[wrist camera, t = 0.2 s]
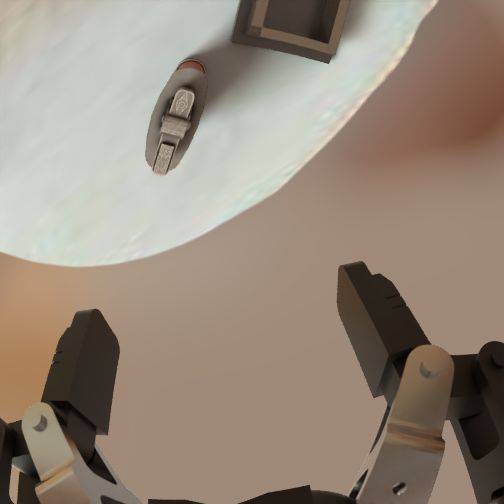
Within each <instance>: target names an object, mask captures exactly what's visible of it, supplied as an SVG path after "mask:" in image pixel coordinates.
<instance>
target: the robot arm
mask: <svg viewBox="0 0 504 504" xmlns="http://www.w3.org/2000/svg"><path fill="white" fill-rule="evenodd" d="M337 306H338V312H339V316H340V317H341V320H342V323H343V325H344V327H345V330H346V332H347V334H348V337H349V339H350V342H351V344H352V346H353V349H354V351H355V354H356V356H357V358H358V361H359V363H360V366H361V368H362V371H363V373H364V376H365V378H366V380H367V383H368V386H369V388H370V391H371V393H372V396H373V398H376V397H378V396H381V395H384V396H385V399H386V401H387V406H386V408H385V411H384V414H383V417H382V419H381V422H380V425H379V428H378V430H377V433H376V436H375V438H374V441H373V443H372V446H371V448H370V450H369V453H368V455H367V457H366V459H365V461H364V463H363V465H362V467H361V469H360V471H359V473H358V475H357V477H356V480H355V482H354V484H353V486H352V488H351V490H350V492H349V494H348V496H345V495H342V494H339V493H334V492H329V491H320V490H311V489H310V485H307V486H302V487H298V488H292V489H287V490H281V491H275V492H269V493H266V494H263V495H261V496H258V497H255V498H253V499H250V500H247V501H244V502H242V503H239V504H428V501H429V498H430V496H431V493H432V490H433V487H434V484H435V481H436V478H437V475H438V471H439V468H440V465H441V462H442V458H443V454H444V450H445V441H444V440H443V439H442V431H443V427H444V422H445V420H450V422H451V424H452V427H453V429H454V432H455V435H456V438H457V440H458V443H459V446H460V449H461V452H462V454H463V457H464V460H465V463H466V466H467V469H468V473H469V476H470V479H471V482H472V485H473V489H474V492H475V496H476V500H477V503H478V504H504V343H502V342H498V341H492V342H488V343H486V344H485V345H484V346H483V347H482V348H481V350H480V351H479V353H478V354H469V355H449V353H448V352H447V351H445V350H444V349H442V348H441V347H438V346H435V345H432V344H431V343H430V342H429V341H428V339H427V337H426V335H425V334H424V332H423V331H422V329H421V327H420V325H419V324H418V322H417V320H416V319H415V317H414V316H413V314H412V312H411V311H410V309H409V308H408V306H406V303H405V301H404V300H403V298H402V297H400V293H399V292H398V290H397V289H396V287H395V286H394V284H393V283H392V282H391V281H390V280H388V279H387V278H385V277H384V276H383V275H381V274H375V275H372V274H371V273H370V271H369V270H368V268H367V266H366V265H365V263H364V262H362V261H359V262H355V263H350V264H345V265H341V266H339V269H338V288H337ZM55 352H56V354H55V355H54V357H53V361H52V362H53V364H52V365H51V368H50V370H49V374H48V377H47V381H46V384H45V389H44V392H43V395H42V399H41V402H40V403H36V404H34V405H32V406H31V407H30V408H28V410H27V411H26V412H25V414H24V416H23V419H22V420H19V421H16V422H13V423H9V424H7V423H6V422H5V421H3V420H2V419H1V418H0V504H14V503H13V502H12V501H11V499H10V496H9V485H10V476H11V467H14V468H16V469H18V470H19V471H20V473H19V484H18V499H17V504H143V503H142V502H141V501H140V500H139V499H138V498H137V497H136V496H135V495H134V494H133V493H132V492H131V491H129V490H128V489H127V488H126V487H125V486H124V484H123V483H122V482H121V480H120V479H119V477H118V476H117V474H116V473H115V471H114V470H113V468H112V467H111V465H110V464H109V462H108V460H107V459H106V458H105V456H104V454H103V452H102V451H101V449H100V448H99V446H98V445H97V444H96V443H95V436H96V435H108V429H109V421H110V413H111V405H112V398H113V391H114V384H115V378H116V372H117V366H118V360H119V354H120V349H119V344H118V340H117V338H116V336H115V334H114V333H113V331H112V330H111V328H110V327H109V325H108V323H107V322H106V320H105V319H104V317H103V315H102V314H101V312H100V311H99V310H98V309H90V310H84V311H78V312H76V314H75V316H74V318H73V322H72V324H71V327H69V328H67V330H66V331H65V332H64V334H63V335H62V336H61V338H60V339H59V342H58V345H57V348H56V351H55ZM148 504H203V503H198V502H193V501H189V500H158V499H148Z"/></svg>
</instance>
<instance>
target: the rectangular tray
mask: <svg viewBox="0 0 504 504" xmlns="http://www.w3.org/2000/svg"><path fill="white" fill-rule="evenodd" d="M349 3H350V0H240V1H239V5H238V9H237V14H236V18H235V22H234V27H233V31H232V36H231V41H230V42H232V43H239V44H245V45H251V46H256V47H261V48H266V49H271V50H276V51H281V52H285V53H289V54H293V55H298V56H302V57H305V58H309V59H313V60H317V61H320V62H324V63H327V64H329V63H330V59H331V56H332V55H335V54H336V50H337V47H338V43H339V40H340V36H341V32H342V29H343V25H344V21H345V18H346V14H347V10H348V6H349Z"/></svg>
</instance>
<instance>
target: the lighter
mask: <svg viewBox="0 0 504 504" xmlns="http://www.w3.org/2000/svg"><path fill="white" fill-rule="evenodd" d="M207 87H208V84H207V78H206V69H205V66H204V65H203V64H202V63H201V62H200V61H198V60H196V59H185V60H183V61H181V62H180V63H179V64H178V66H177V68H176V69H175V71H174V72H173V74H172V76H171V77H170V79H169V81H168V82H167V84H166V86H165V87H164V89H163V91H162V92H161V94H160V96H159V99H158V101H157V103H156V106H155V108H154V111H153V113H152V116H151V120H150V124H149V129H148V133H147V140H146V153H145V157H146V161H147V163H148V164H149V165H150V166H151V167H152V172H153V173H154V174H156V175H160V176H165V175H166V174H168V172H169V171H170V170H172V169H174V168H176V166H177V165H178V164H179V162H180V161H181V159H182V157H183V156H184V154H185V152H186V151H187V149H188V147H189V145H190V143H191V141H192V139H193V136H194V134H195V132H196V130H197V128H198V124H199V121H200V118H201V114H202V111H203V108H204V103H205V98H206V92H207Z"/></svg>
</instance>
